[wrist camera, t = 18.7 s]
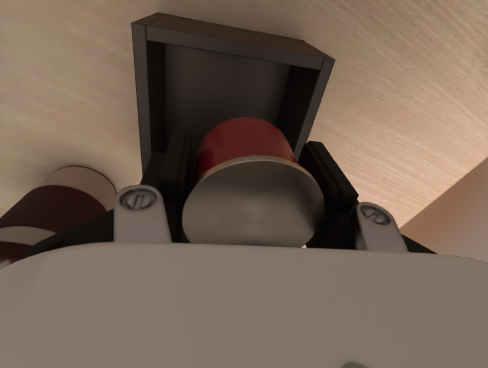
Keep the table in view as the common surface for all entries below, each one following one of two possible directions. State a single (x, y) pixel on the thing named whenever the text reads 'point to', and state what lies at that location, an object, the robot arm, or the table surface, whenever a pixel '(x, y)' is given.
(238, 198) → the coffee pod
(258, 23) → the table surface
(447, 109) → the table surface
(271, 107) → the open dark brown box
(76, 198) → the coffee cup
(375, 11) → the table surface
